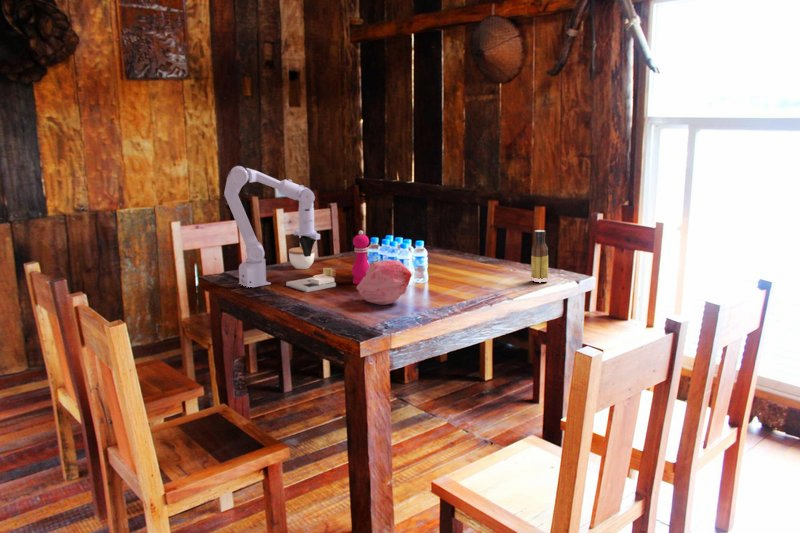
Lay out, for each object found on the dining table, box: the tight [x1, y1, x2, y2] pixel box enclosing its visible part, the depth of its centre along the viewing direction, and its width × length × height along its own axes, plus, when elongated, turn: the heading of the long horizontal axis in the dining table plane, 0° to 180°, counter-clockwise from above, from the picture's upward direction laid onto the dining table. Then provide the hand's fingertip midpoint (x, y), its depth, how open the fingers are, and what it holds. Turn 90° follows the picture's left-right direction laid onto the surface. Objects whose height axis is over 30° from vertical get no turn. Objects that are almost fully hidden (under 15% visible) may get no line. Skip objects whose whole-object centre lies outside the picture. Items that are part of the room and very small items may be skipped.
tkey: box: [322, 267, 337, 278], centre depth 262 cm, size 6×4×5 cm, turn 42°
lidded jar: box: [288, 245, 316, 270], centre depth 285 cm, size 11×11×9 cm
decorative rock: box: [356, 259, 412, 306], centre depth 229 cm, size 19×14×15 cm
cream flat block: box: [310, 273, 335, 285], centre depth 253 cm, size 7×5×2 cm
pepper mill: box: [351, 230, 370, 285], centre depth 257 cm, size 7×7×20 cm
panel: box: [285, 276, 337, 293], centre depth 254 cm, size 13×13×2 cm
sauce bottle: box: [530, 229, 549, 279], centre depth 260 cm, size 7×6×20 cm
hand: (307, 256), depth 259 cm, fingers closed
